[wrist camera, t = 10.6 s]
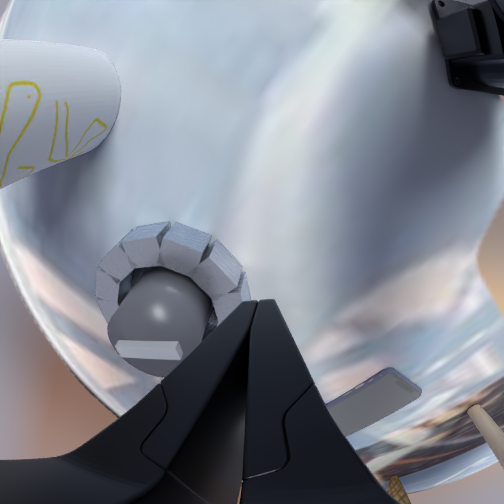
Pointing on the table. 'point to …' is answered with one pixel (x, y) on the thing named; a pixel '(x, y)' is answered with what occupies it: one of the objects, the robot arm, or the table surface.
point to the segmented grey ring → (172, 267)
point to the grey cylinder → (52, 104)
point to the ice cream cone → (398, 490)
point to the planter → (488, 431)
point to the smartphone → (372, 400)
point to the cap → (160, 321)
